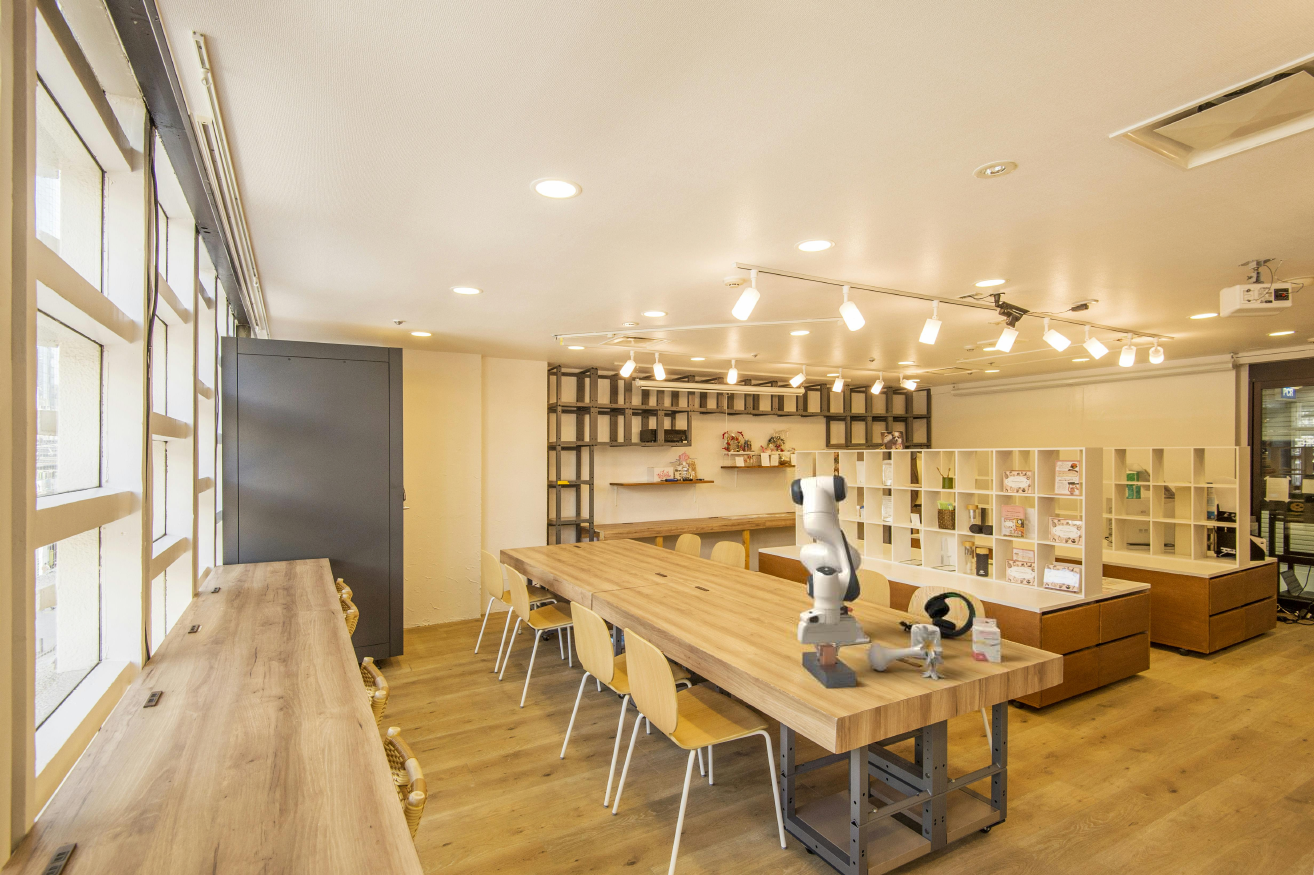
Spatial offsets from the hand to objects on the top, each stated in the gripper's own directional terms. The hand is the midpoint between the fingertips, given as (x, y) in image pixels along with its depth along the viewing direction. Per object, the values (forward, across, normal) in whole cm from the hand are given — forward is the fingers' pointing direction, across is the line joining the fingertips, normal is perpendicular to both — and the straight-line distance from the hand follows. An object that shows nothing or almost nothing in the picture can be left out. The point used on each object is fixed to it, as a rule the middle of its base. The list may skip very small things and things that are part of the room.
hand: (827, 655), depth 212 cm
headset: (+7, -64, -39) cm, 76 cm away
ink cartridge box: (+7, -65, -9) cm, 66 cm away
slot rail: (+7, 0, 0) cm, 7 cm away
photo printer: (+7, -44, -14) cm, 47 cm away
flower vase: (+7, -28, +1) cm, 29 cm away
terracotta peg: (+5, 0, 0) cm, 5 cm away
